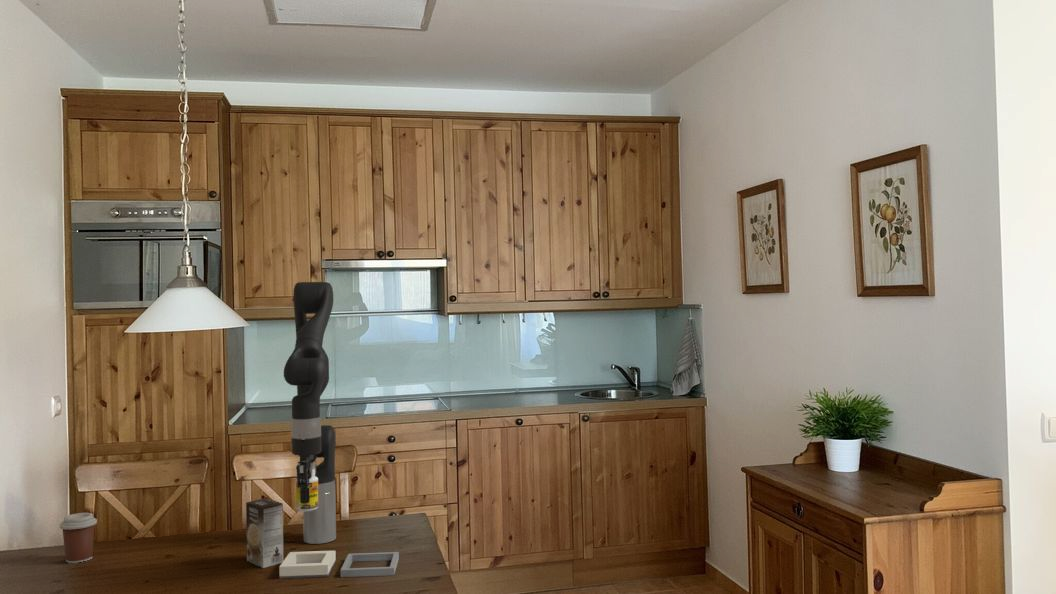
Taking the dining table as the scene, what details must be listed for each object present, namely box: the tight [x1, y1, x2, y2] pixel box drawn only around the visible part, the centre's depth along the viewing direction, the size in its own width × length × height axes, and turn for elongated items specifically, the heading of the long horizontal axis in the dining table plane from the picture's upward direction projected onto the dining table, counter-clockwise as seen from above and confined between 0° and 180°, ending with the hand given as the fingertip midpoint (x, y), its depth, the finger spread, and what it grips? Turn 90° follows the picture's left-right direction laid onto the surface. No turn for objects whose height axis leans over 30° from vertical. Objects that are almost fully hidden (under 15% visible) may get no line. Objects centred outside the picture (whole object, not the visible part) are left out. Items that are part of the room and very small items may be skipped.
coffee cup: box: [59, 512, 98, 564], centre depth 226 cm, size 9×9×12 cm
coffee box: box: [245, 497, 284, 569], centre depth 222 cm, size 9×6×16 cm
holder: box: [278, 550, 337, 580], centre depth 215 cm, size 12×12×3 cm
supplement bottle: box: [295, 469, 318, 512], centre depth 215 cm, size 6×6×10 cm
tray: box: [340, 551, 400, 578], centre depth 216 cm, size 13×13×2 cm
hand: (307, 499), depth 215 cm, fingers closed on supplement bottle, 5 cm apart
